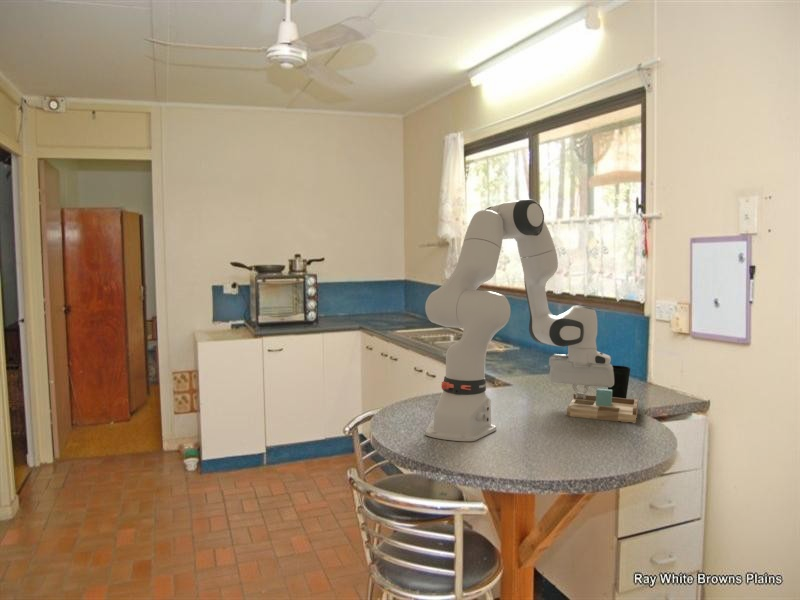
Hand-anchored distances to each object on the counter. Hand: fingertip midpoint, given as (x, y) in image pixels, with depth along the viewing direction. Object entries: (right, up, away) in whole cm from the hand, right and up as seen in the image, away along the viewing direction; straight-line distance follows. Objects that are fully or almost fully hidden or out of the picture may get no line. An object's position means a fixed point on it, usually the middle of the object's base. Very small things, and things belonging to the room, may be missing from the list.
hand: (580, 398), depth 202 cm
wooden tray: (+6, -4, -5) cm, 9 cm away
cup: (+16, -3, +13) cm, 21 cm away
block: (+7, -2, -3) cm, 7 cm away
